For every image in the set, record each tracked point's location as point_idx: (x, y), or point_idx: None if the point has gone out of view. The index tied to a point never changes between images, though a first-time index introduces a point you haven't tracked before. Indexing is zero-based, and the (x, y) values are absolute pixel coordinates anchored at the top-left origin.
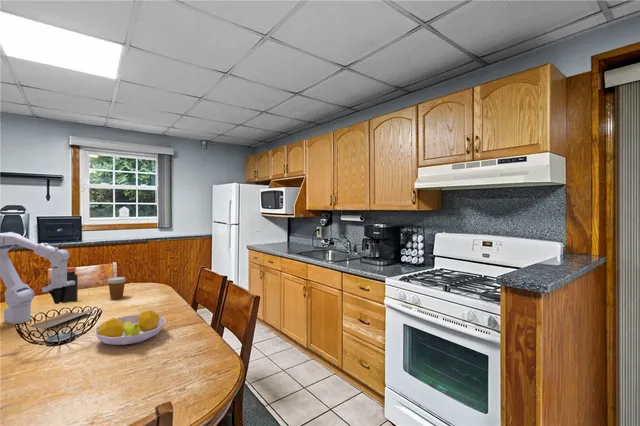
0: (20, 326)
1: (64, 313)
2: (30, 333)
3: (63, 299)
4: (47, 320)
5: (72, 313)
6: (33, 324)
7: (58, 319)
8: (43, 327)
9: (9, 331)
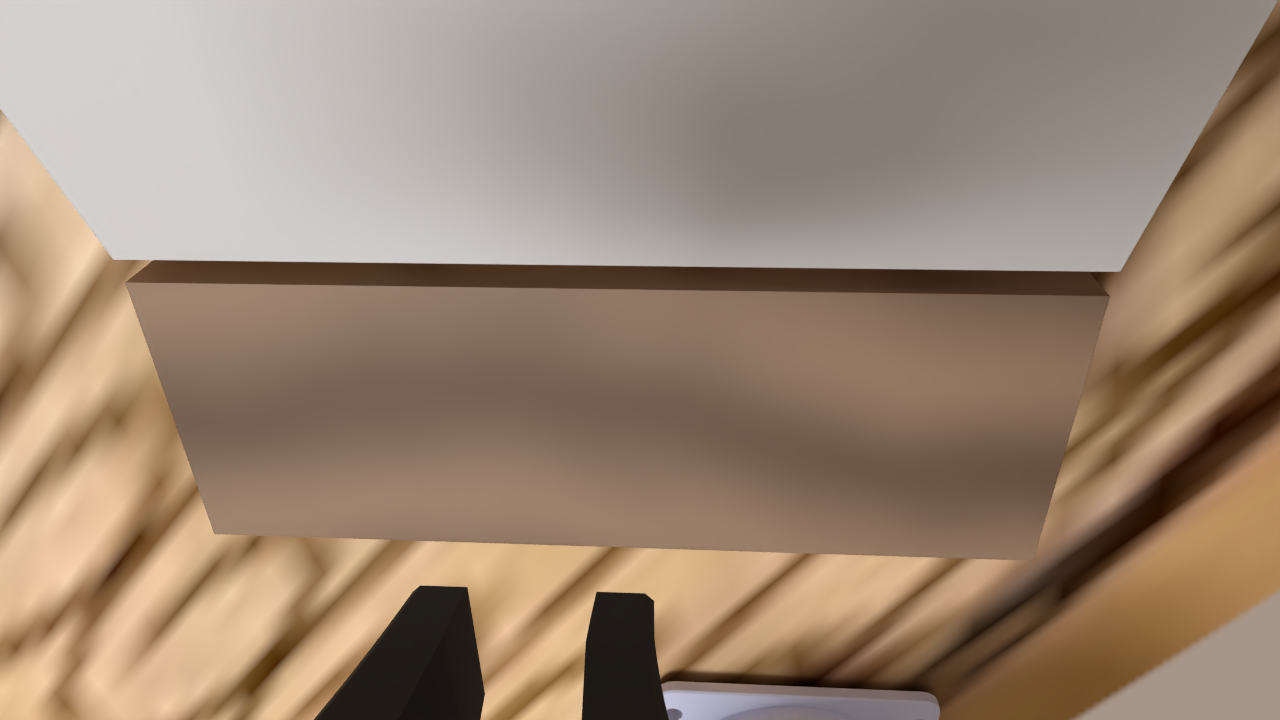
0: (902, 681)
1: (298, 534)
2: (1248, 289)
3: (421, 667)
4: (689, 500)
5: (224, 405)
6: (921, 542)
7: (590, 362)
8: (1149, 192)
9: (1119, 652)
